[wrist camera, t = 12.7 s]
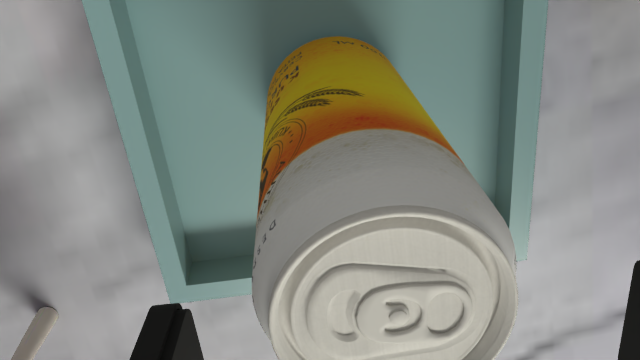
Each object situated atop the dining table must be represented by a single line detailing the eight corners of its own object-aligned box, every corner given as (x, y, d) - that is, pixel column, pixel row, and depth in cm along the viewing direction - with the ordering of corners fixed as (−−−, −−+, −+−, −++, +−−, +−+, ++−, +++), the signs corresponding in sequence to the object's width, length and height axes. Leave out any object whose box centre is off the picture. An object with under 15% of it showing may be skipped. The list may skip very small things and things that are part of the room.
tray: (526, -151, 22) (561, -160, 19) (504, 228, 30) (526, 259, 27) (81, -98, 21) (52, -100, 19) (180, 268, 29) (170, 304, 27)
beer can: (263, 33, 23) (237, 199, 10) (403, 30, 23) (563, 187, 10) (270, 161, 26) (257, 429, 12) (395, 157, 26) (514, 413, 13)
